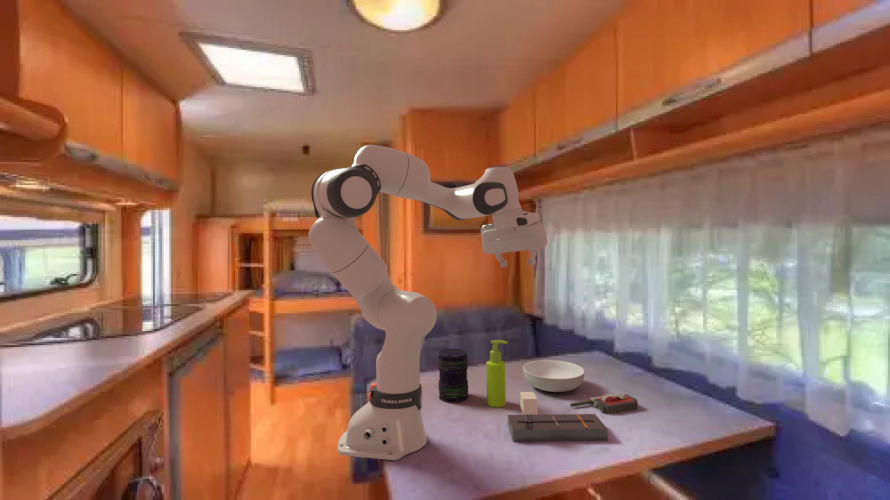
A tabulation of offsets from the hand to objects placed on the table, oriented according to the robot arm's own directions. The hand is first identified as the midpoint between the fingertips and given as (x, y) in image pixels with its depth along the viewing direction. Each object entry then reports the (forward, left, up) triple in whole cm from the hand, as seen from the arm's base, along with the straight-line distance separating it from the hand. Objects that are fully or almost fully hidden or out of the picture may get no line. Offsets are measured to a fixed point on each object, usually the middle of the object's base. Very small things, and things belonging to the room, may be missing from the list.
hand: (518, 265), depth 120 cm
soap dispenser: (-6, +6, -44) cm, 45 cm away
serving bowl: (+15, +20, -44) cm, 51 cm away
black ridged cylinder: (-20, +12, -44) cm, 50 cm away
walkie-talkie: (+26, +2, -45) cm, 51 cm away
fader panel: (+7, -14, -44) cm, 47 cm away
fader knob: (0, -14, -41) cm, 43 cm away
